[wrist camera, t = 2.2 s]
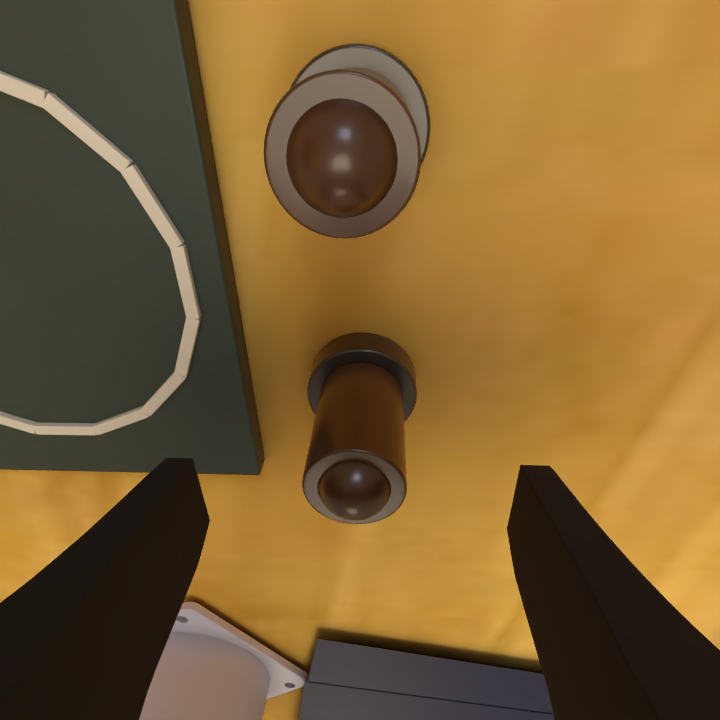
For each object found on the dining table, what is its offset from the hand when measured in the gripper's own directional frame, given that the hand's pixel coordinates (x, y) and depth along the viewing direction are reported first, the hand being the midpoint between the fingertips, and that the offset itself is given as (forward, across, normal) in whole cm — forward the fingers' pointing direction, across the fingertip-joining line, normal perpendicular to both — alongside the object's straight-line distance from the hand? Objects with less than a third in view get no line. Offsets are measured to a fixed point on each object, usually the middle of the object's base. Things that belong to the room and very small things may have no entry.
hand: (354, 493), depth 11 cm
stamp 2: (+5, 0, 0) cm, 5 cm away
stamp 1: (+5, 0, -7) cm, 8 cm away
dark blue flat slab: (+5, -7, +31) cm, 32 cm away
